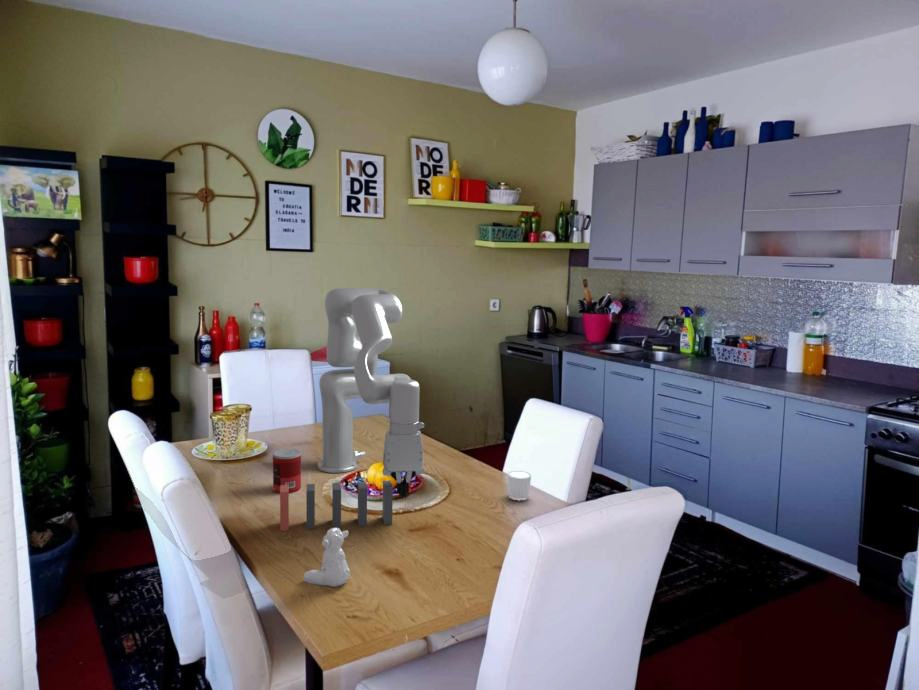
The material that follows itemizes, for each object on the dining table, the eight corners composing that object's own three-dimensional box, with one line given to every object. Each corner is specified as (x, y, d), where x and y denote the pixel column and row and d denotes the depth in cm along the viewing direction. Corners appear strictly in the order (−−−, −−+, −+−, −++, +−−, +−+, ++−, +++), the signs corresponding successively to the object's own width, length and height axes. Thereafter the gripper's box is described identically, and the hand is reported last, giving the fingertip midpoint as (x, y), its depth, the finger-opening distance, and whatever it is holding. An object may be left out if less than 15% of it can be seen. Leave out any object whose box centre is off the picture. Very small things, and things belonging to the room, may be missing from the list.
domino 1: (314, 520, 173) (314, 483, 172) (314, 528, 168) (314, 490, 167) (306, 521, 173) (306, 484, 171) (306, 529, 168) (306, 491, 166)
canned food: (306, 486, 197) (306, 450, 195) (290, 495, 190) (290, 458, 188) (283, 482, 200) (283, 447, 198) (267, 491, 192) (267, 454, 190)
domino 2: (340, 519, 175) (340, 482, 173) (340, 527, 170) (341, 489, 168) (332, 519, 174) (332, 483, 173) (332, 527, 169) (333, 490, 168)
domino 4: (389, 516, 177) (390, 480, 176) (392, 524, 172) (392, 487, 171) (382, 517, 177) (382, 480, 175) (384, 524, 172) (384, 487, 171)
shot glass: (533, 495, 195) (534, 472, 194) (525, 503, 189) (526, 480, 188) (511, 491, 198) (512, 468, 197) (503, 499, 192) (504, 475, 191)
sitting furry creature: (336, 565, 150) (336, 514, 148) (363, 578, 144) (363, 525, 142) (302, 581, 142) (301, 527, 140) (328, 595, 137) (328, 540, 135)
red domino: (288, 522, 172) (288, 484, 170) (288, 530, 167) (288, 491, 166) (280, 522, 171) (280, 485, 170) (280, 530, 167) (280, 492, 165)
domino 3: (365, 518, 176) (365, 481, 174) (366, 525, 171) (367, 488, 170) (357, 518, 175) (357, 481, 174) (358, 526, 171) (359, 488, 169)
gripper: (430, 423, 177) (428, 489, 180) (373, 424, 174) (372, 492, 177) (435, 430, 170) (433, 499, 173) (376, 432, 167) (375, 502, 169)
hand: (402, 495), depth 175 cm, fingers closed
